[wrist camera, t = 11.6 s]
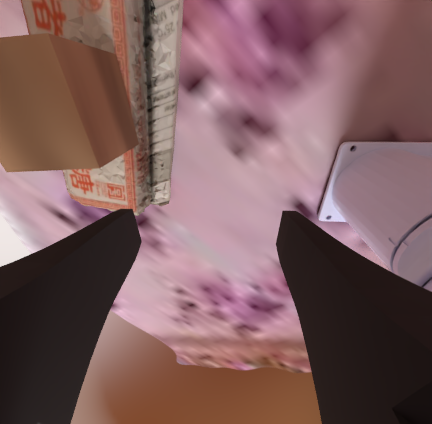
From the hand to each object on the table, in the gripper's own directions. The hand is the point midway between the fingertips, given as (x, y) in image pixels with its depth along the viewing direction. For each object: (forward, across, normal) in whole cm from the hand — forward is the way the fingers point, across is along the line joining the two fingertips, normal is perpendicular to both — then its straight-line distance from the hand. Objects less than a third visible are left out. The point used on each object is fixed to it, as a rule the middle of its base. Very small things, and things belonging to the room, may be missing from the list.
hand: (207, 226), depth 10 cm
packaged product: (+11, +8, -5) cm, 15 cm away
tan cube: (+6, +8, -5) cm, 11 cm away
